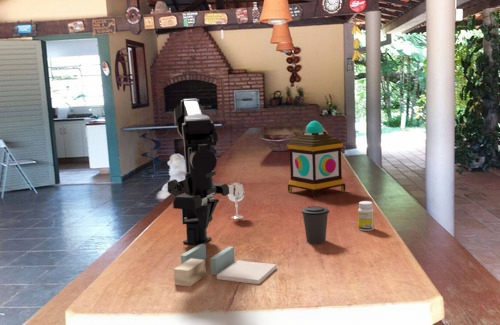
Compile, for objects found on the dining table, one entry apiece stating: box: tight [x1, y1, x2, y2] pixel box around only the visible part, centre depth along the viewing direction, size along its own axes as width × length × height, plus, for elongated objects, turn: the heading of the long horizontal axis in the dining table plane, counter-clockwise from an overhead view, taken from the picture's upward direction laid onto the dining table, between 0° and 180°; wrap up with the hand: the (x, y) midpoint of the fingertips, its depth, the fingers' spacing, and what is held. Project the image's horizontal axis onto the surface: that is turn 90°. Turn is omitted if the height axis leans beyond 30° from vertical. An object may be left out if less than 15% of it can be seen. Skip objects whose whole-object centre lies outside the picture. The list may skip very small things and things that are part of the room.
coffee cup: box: [300, 205, 330, 245], centre depth 151 cm, size 8×8×10 cm
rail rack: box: [180, 243, 236, 276], centre depth 135 cm, size 10×10×4 cm
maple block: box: [173, 258, 207, 287], centre depth 126 cm, size 8×4×4 cm, turn 156°
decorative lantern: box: [286, 120, 346, 199], centre depth 218 cm, size 20×20×30 cm
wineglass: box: [227, 182, 245, 220], centre depth 183 cm, size 6×6×12 cm
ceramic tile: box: [216, 259, 278, 285], centre depth 128 cm, size 11×11×1 cm
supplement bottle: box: [357, 200, 375, 232], centre depth 161 cm, size 5×5×8 cm
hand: (204, 228), depth 133 cm, fingers closed
